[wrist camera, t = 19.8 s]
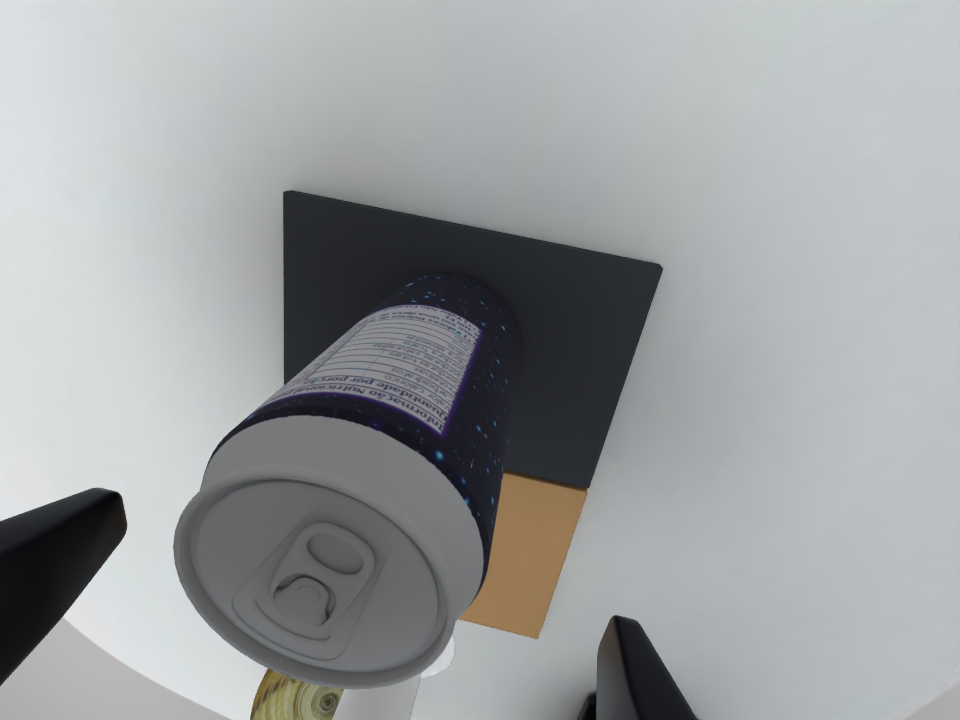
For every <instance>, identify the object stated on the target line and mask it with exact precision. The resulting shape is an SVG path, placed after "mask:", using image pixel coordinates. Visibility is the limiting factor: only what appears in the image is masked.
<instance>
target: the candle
mask: <svg viewBox="0 0 960 720" xmlns="http://www.w3.org/2000/svg"><path fill="white" fill-rule="evenodd" d="M454 654H455V641H454V637H453V635H452V636H451V638H450V640H449V642H448V644H447V646H446V648H445V649H444V651H443V653H442V654H441V655H440V656H439V657H438V658H437V660H436V661H435V662H434V663H433V664H432V665H431V666H429V667H428V668H427V669H425V670H424V671H423V672H421V673H420V674H418V675H416V676H414V677H412V678H410V679H408V680H406V681H404V682H400V683H397V684H394V685H391V686H387V687H381V688H374V689H357V690H350V689H344V691H343V694H342V696H341V699H340V701H339V704H338V706H337V709H336V712H335V714H334V717H333V719H332V720H410V717H411V713H412V709H413V705H414V701H415V697H416V694H417V690H418V686H419V682H420V678H424V677H429V676H432V675H435V674H437V673H439V672H441V671H443V670H444V669H445V668H447V667H448V666H449V664H450V663H451V662H452V660H453V657H454Z"/></svg>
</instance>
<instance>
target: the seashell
mask: <svg viewBox="0 0 960 720" xmlns="http://www.w3.org/2000/svg"><path fill="white" fill-rule="evenodd" d="M343 691H344V689H337V688H329V687H324V686H319V685H313V684H310V683H306V682H303V681H299V680H296V679H293V678H290V677H288V676H285V675H283V674H280V673H278V672H275V671H273V670H271V669H269V668H268V670H267V672H266V674H265V675H264V677H263V679H262V682H261V684H260V686H259V688H258V690H257V693H256V696H255V699H254V703H253V707H252V712H251V718H250V720H332V719H333V717H334V714H335V712H336V709H337V706H338V704H339V701H340V699H341V696H342V694H343Z"/></svg>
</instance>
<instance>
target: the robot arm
mask: <svg viewBox="0 0 960 720" xmlns="http://www.w3.org/2000/svg"><path fill="white" fill-rule="evenodd" d="M126 530H127V520H126V515H125V510H124V505H123V499H122V496H121V495H120V494H119V493H118V492H116V491H112V490H107V489H103V488H92V489H89V490H86V491H83V492H80V493H78V494H75V495H72V496H69V497H67V498H64V499H61V500H58V501H55V502H53V503H50V504H47V505H44V506H41V507H39V508H36V509H33V510H30V511H28V512H25V513H22V514H19V515H16V516H14V517H11V518H8V519H5V520H3V521H0V686H1V685H2V684H3V682H4V681H5V680H6V679H7V678H8V677H9V676H10V675H11V674H12V672H13V671H14V670H15V669H16V668H17V667H18V666H19V665H20V664H21V663H22V662H23V660H24V659H25V658H26V657H27V656H28V655H29V654H30V653H31V652H32V651H33V649H34V648H35V647H36V646H37V645H38V644H39V643H40V642H41V641H42V639H43V638H44V637H45V636H46V635H47V634H48V633H49V632H50V631H51V629H52V628H53V627H54V626H55V625H56V624H57V622H58V621H59V620H60V619H61V618H62V617H63V615H64V614H65V613H66V612H67V610H68V609H69V608H70V607H71V606H72V604H73V603H74V602H75V600H76V599H77V598H78V596H79V595H80V594H81V593H82V591H83V590H84V589H85V587H86V586H87V585H88V583H89V582H90V581H91V580H92V578H93V577H94V576H95V574H96V573H97V572H98V570H99V569H100V568H101V567H102V565H103V564H104V563H105V561H106V560H107V559H108V557H109V556H110V555H111V554H112V552H113V551H114V550H115V548H116V547H117V546H118V544H119V543H120V542H121V540H122V539H123V537H124V535H125V533H126ZM578 720H697V718H696V716H695V715H694V713H693V711H692V710H691V708H690V706H689V705H688V703H687V701H686V700H685V698H684V696H683V695H682V693H681V692H680V690H679V688H678V687H677V685H676V683H675V682H674V680H673V678H672V677H671V675H670V673H669V672H668V670H667V668H666V667H665V665H664V663H663V662H662V660H661V658H660V657H659V655H658V653H657V652H656V650H655V648H654V647H653V645H652V643H651V642H650V640H649V638H648V637H647V635H646V633H645V632H644V630H643V628H642V627H641V625H640V624H639V623H638V622H637V621H636V620H634V619H630V618H626V617H622V616H618V615H614V616H613V617H612V618H611V619H610V621H609V623H608V626H607V628H606V631H605V633H604V635H603V638H602V640H601V642H600V645H599V649H598V655H597V695H593V696H590V697H588V698H587V700H586V702H585V705H584V707H583V709H582V711H581V714H580V716H579V718H578Z"/></svg>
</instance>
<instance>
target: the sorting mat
mask: <svg viewBox="0 0 960 720" xmlns="http://www.w3.org/2000/svg"><path fill="white" fill-rule="evenodd" d="M283 225H284V385H286V384H287V383H288V382H289V381H290V380H291V379H293V378H294V377H295V376H296V375H297V374H298V373H300V372H301V371H302V370H303V369H304V368H305V367H307V366H308V365H309V364H310V363H311V362H312V361H314V360H315V359H316V358H317V357H318V356H319V355H321V354H322V353H323V352H324V351H325V350H326V349H328V348H329V347H330V346H331V345H332V344H333V343H335V342H336V341H337V340H338V339H339V338H340V337H342V336H343V335H344V334H345V333H346V332H347V331H349V330H350V329H351V328H352V327H353V326H354V325H356V324H357V323H358V322H359V321H360V320H361V319H363V318H364V317H365V316H366V315H367V314H369V313H370V312H371V311H372V310H373V309H374V308H376V307H377V306H378V305H379V304H380V303H381V302H383V301H384V300H385V299H386V298H387V297H388V296H390V295H391V294H392V293H393V292H394V291H395V290H397V289H398V288H399V287H400V286H402V285H403V284H405V283H406V282H408V281H410V280H412V279H414V278H417V277H420V276H423V275H427V274H433V273H453V274H459V275H463V276H466V277H470V278H472V279H475V280H477V281H479V282H481V283H483V284H484V285H486V286H488V287H489V288H491V289H492V290H493V291H494V292H496V293H497V294H498V295H499V296H500V297H501V298H502V299H503V300H504V301H505V302H506V304H507V305H508V306H509V308H510V309H511V311H512V312H513V314H514V316H515V318H516V320H517V322H518V325H519V327H520V331H521V335H522V341H523V357H522V363H521V370H520V376H519V382H518V388H517V394H516V400H515V406H514V412H513V418H512V425H511V431H510V437H509V443H508V449H507V455H506V461H505V467H504V473H503V479H502V486H501V492H500V498H499V504H498V510H497V516H496V522H495V528H494V534H493V541H492V547H491V553H490V559H489V565H488V571H487V574H486V578H485V581H484V583H483V586H482V588H481V590H480V592H479V593H478V595H477V597H476V598H475V599H474V601H473V602H472V604H471V605H470V606H469V607H468V608H467V610H466V611H465V612H464V613H463V614H462V615H461V616H460V617H459V618H458V619H460V620H464V621H468V622H472V623H476V624H480V625H484V626H488V627H492V628H496V629H500V630H504V631H507V632H511V633H515V634H519V635H523V636H527V637H531V638H535V639H538V637H539V634H540V631H541V628H542V625H543V623H544V620H545V617H546V614H547V611H548V608H549V605H550V602H551V599H552V596H553V593H554V590H555V587H556V584H557V581H558V578H559V575H560V572H561V569H562V566H563V563H564V560H565V558H566V555H567V552H568V549H569V546H570V543H571V540H572V537H573V534H574V531H575V528H576V525H577V522H578V519H579V516H580V513H581V510H582V507H583V504H584V501H585V498H586V495H587V488H589V486H590V483H591V480H592V478H593V475H594V472H595V469H596V466H597V463H598V460H599V457H600V454H601V451H602V448H603V445H604V442H605V439H606V436H607V433H608V430H609V427H610V424H611V421H612V418H613V415H614V413H615V410H616V407H617V404H618V401H619V398H620V395H621V392H622V389H623V386H624V383H625V380H626V377H627V374H628V371H629V368H630V365H631V362H632V359H633V356H634V353H635V350H636V347H637V345H638V342H639V339H640V336H641V333H642V330H643V327H644V324H645V321H646V318H647V315H648V312H649V309H650V306H651V303H652V300H653V297H654V294H655V291H656V288H657V285H658V282H659V280H660V277H661V274H662V271H663V268H662V266H661V265H659V264H656V263H651V262H646V261H641V260H636V259H631V258H626V257H621V256H616V255H611V254H606V253H601V252H596V251H591V250H586V249H581V248H576V247H571V246H566V245H561V244H556V243H551V242H546V241H541V240H536V239H531V238H526V237H521V236H516V235H511V234H506V233H501V232H496V231H491V230H486V229H481V228H476V227H471V226H466V225H462V224H457V223H452V222H447V221H442V220H437V219H432V218H427V217H422V216H417V215H412V214H407V213H402V212H397V211H392V210H387V209H382V208H377V207H372V206H367V205H362V204H357V203H352V202H347V201H342V200H337V199H332V198H327V197H322V196H317V195H312V194H307V193H302V192H297V191H292V190H291V191H284V193H283Z"/></svg>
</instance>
